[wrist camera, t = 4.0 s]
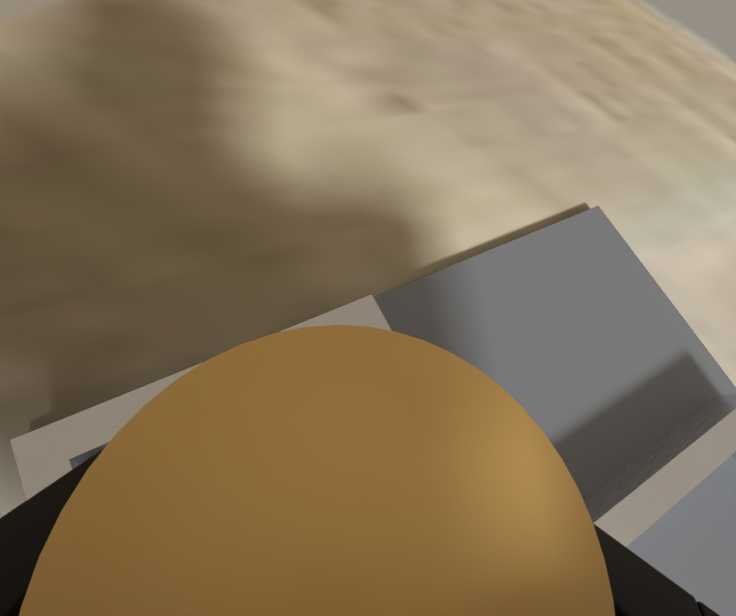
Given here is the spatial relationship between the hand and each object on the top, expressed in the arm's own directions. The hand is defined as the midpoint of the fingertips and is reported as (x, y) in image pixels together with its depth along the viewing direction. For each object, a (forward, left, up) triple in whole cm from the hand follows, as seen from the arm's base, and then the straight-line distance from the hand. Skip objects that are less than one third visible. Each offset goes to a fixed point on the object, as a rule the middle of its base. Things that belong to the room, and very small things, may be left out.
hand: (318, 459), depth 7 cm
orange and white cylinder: (-1, +1, -7) cm, 7 cm away
